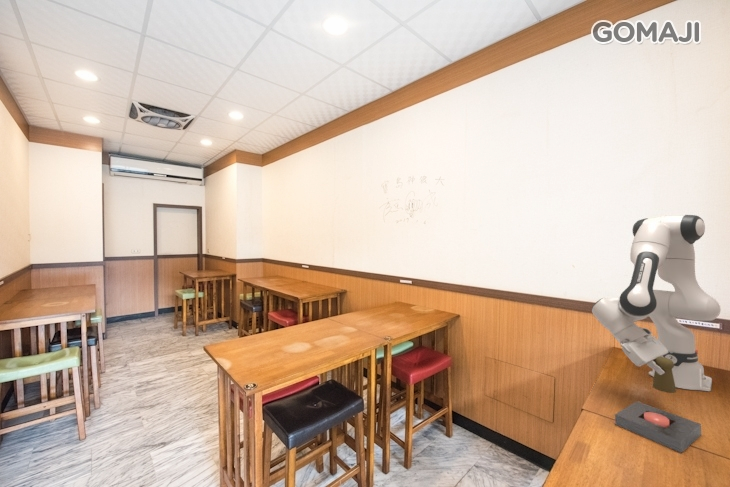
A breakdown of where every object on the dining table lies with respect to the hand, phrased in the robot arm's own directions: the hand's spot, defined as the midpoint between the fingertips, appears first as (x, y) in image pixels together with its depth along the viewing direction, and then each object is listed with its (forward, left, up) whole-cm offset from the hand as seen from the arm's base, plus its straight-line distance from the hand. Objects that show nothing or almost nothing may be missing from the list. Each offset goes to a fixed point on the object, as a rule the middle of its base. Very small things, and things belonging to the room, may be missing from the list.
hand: (666, 372), depth 106 cm
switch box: (+14, +1, -15) cm, 21 cm away
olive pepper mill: (0, -1, -6) cm, 6 cm away
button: (+14, +1, -15) cm, 21 cm away
